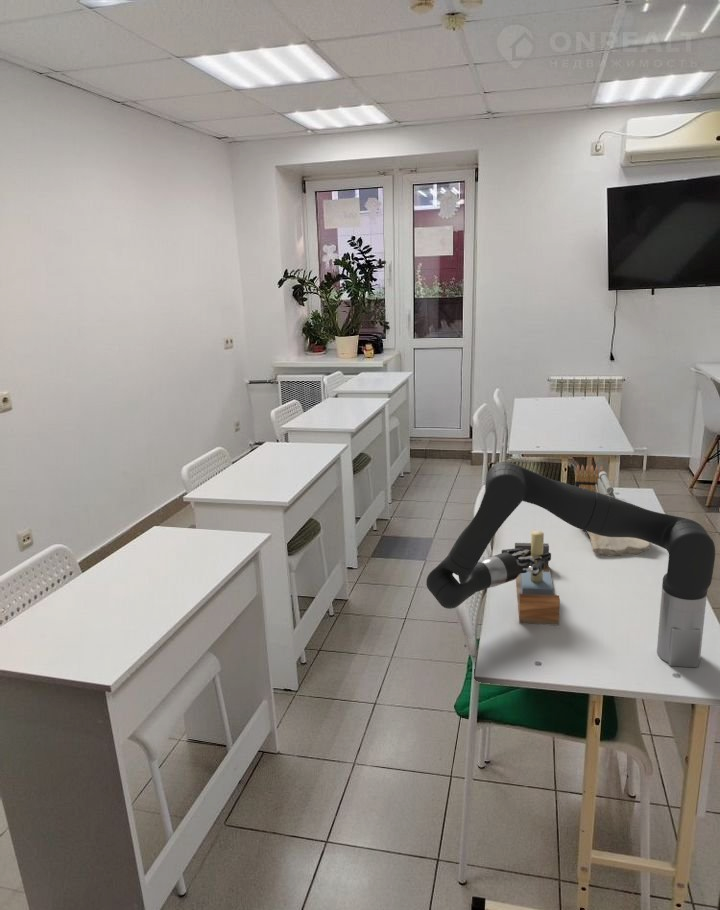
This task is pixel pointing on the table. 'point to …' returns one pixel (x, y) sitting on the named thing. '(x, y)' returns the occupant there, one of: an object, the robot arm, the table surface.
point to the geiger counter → (604, 485)
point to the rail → (537, 600)
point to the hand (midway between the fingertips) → (544, 553)
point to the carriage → (543, 579)
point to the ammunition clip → (587, 478)
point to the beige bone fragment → (617, 545)
